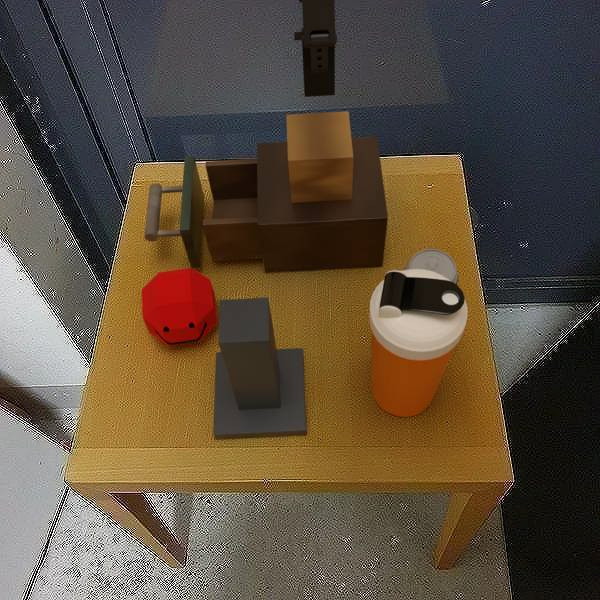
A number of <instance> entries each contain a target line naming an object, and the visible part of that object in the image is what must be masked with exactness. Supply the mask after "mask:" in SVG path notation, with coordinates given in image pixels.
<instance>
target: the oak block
mask: <svg viewBox="0 0 600 600" xmlns="http://www.w3.org/2000/svg"><path fill="white" fill-rule="evenodd" d="M351 129H352V128H351V121H350V112H349V110H345V111H326V112H312V113H311V112H310V113H309V112H307V113H295V114H286V142H287V146H288V166H289V179H290V191H291V202H292V203H297V202H315V201H333V200H351V199H352V183H353V149H352V139H351V138H352V130H351Z"/></svg>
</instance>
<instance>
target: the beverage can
mask: <svg viewBox="0 0 600 600" xmlns="http://www.w3.org/2000/svg"><path fill="white" fill-rule="evenodd" d="M408 269H425V270H429V271H433V272H436V273H438V274H440V275H443V276H444V277H446V278H447V279H449V280H450V281H451V282H454V283H455V284H456V285H458V283H459V271H458V269H457V265H456V262H455V260H454V259H453V257H452V256H451V255H449V253H447V252H446V251H443V250H440V249H437V248H425V249H422V250H419V251H418V252H416V253H415V254H413V256H412V257H411V258H410V259H409V260H408V262H406V264H405V267H404V269H403V270H408Z"/></svg>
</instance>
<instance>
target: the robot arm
mask: <svg viewBox="0 0 600 600" xmlns="http://www.w3.org/2000/svg"><path fill="white" fill-rule="evenodd" d="M298 3H301V10H302V28H301V30H300V31H294V32H293V38H294V41H301V50H302V51H301V52H302V53H301V54H302V71H303V93H304V98H307V97H308V98H309V97H310V98H311V97H326V96H335V95H336V56H335V55H336V45H337V42H338V34H337V33H336V9H335V8H336V7H335V6H336V4H335V0H298Z"/></svg>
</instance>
